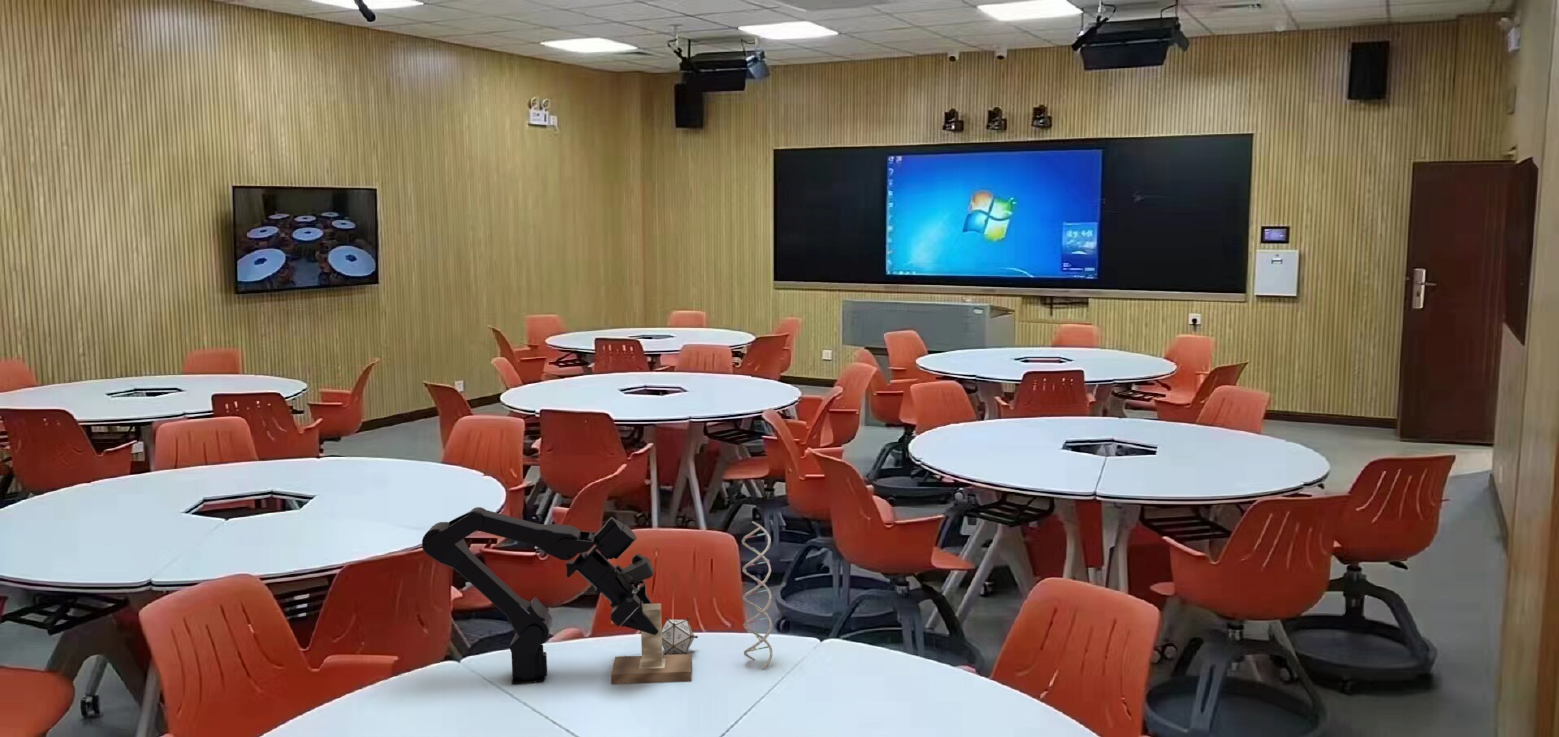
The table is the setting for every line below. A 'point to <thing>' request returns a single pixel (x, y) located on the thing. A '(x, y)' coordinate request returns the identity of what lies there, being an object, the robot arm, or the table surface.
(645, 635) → the maple pillar
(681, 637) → the game die
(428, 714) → the table surface
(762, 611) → the dna model
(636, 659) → the walnut slab
